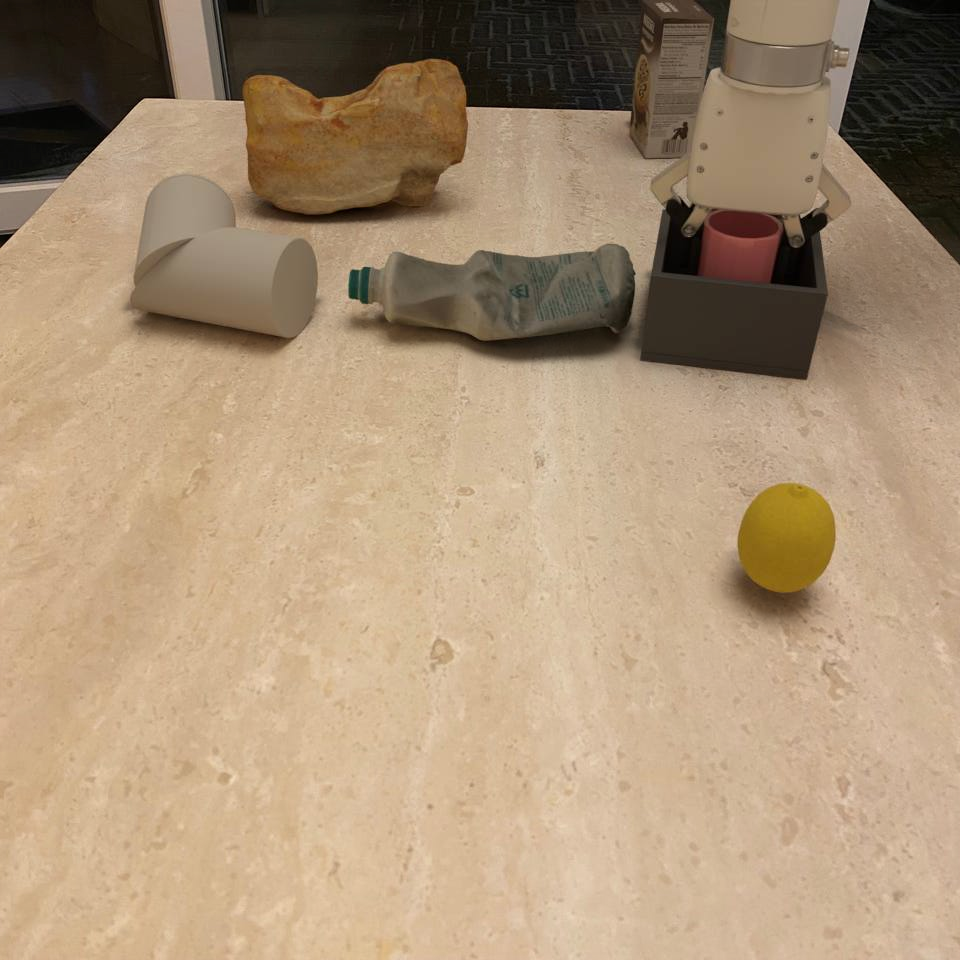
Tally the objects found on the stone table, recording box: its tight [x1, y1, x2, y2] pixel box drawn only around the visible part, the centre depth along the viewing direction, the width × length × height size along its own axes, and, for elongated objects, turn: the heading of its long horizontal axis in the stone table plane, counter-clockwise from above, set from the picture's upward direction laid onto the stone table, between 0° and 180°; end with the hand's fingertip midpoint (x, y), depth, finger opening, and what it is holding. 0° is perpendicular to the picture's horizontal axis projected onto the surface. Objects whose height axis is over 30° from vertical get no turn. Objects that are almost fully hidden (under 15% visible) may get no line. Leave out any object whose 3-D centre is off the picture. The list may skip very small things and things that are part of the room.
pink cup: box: [696, 210, 784, 284], centre depth 85 cm, size 6×6×9 cm
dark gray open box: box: [640, 208, 829, 380], centre depth 86 cm, size 14×14×8 cm
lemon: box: [737, 482, 837, 594], centre depth 60 cm, size 6×6×8 cm
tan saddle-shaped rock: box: [242, 58, 469, 215], centre depth 108 cm, size 23×17×15 cm
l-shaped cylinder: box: [129, 172, 319, 339], centre depth 89 cm, size 18×10×20 cm
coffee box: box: [628, 0, 715, 159], centre depth 120 cm, size 9×6×16 cm
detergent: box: [347, 243, 637, 342], centre depth 87 cm, size 13×7×25 cm
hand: (733, 278), depth 85 cm, fingers closed on pink cup, 6 cm apart
